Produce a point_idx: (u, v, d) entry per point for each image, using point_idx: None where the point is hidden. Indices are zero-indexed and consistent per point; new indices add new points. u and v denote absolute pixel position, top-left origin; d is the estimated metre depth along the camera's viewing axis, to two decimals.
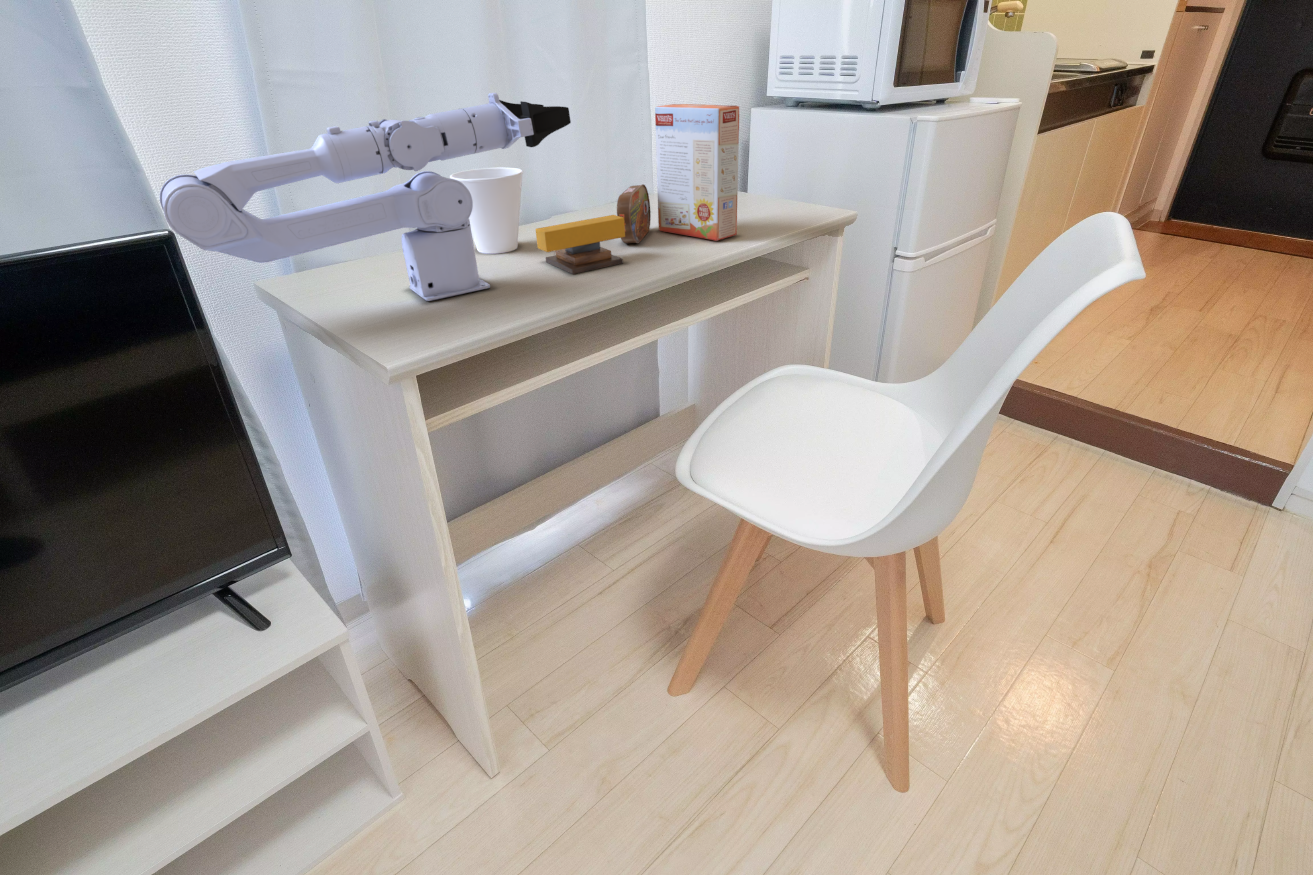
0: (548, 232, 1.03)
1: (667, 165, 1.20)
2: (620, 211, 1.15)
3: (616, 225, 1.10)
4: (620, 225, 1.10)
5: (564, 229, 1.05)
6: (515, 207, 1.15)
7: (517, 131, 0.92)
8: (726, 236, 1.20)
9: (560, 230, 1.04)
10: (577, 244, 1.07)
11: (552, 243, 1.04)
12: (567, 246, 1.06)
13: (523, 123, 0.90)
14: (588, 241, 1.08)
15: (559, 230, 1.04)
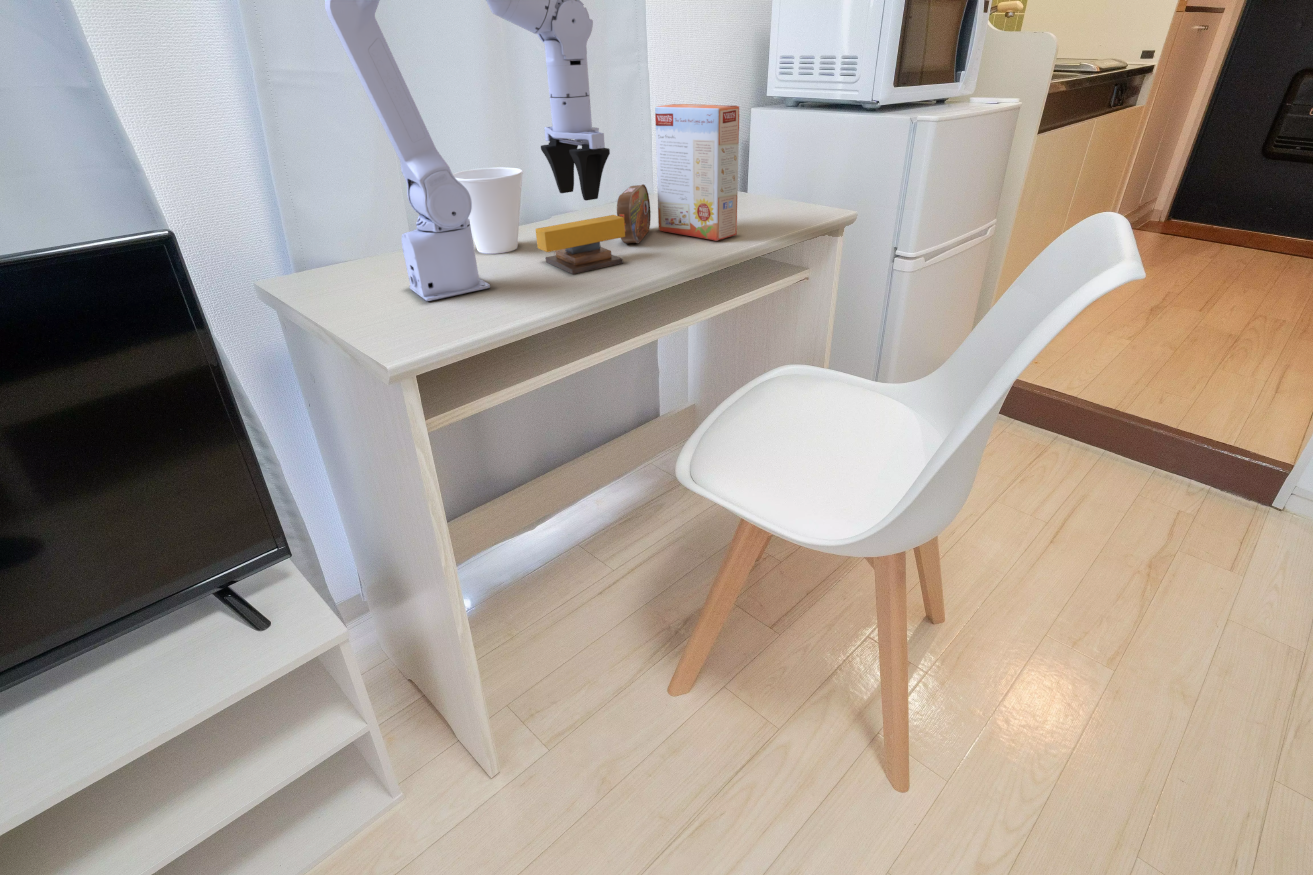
0: (548, 232, 1.03)
1: (667, 165, 1.20)
2: (620, 211, 1.15)
3: (616, 225, 1.10)
4: (620, 225, 1.10)
5: (564, 229, 1.05)
6: (515, 207, 1.15)
7: None
8: (726, 236, 1.20)
9: (560, 230, 1.04)
10: (577, 244, 1.07)
11: (552, 243, 1.04)
12: (567, 246, 1.06)
13: (601, 139, 0.96)
14: (588, 241, 1.08)
15: (559, 230, 1.04)
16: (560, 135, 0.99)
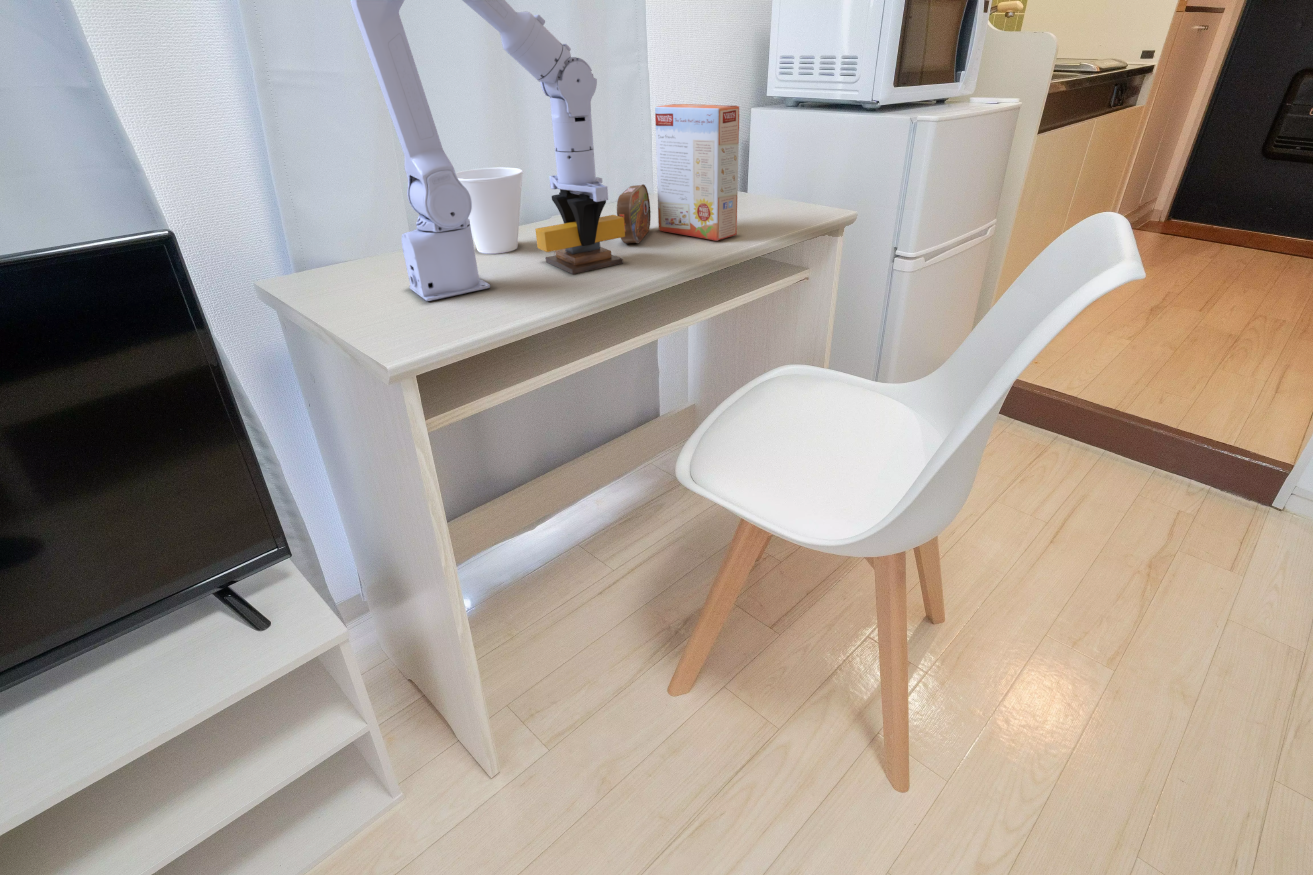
0: (548, 232, 1.03)
1: (667, 165, 1.20)
2: (620, 211, 1.15)
3: (616, 225, 1.10)
4: (620, 225, 1.10)
5: (564, 229, 1.05)
6: (515, 207, 1.15)
7: None
8: (726, 236, 1.20)
9: (560, 230, 1.04)
10: (577, 244, 1.07)
11: (551, 243, 1.04)
12: (567, 246, 1.06)
13: (605, 192, 1.00)
14: None
15: (559, 230, 1.04)
16: (565, 187, 1.02)
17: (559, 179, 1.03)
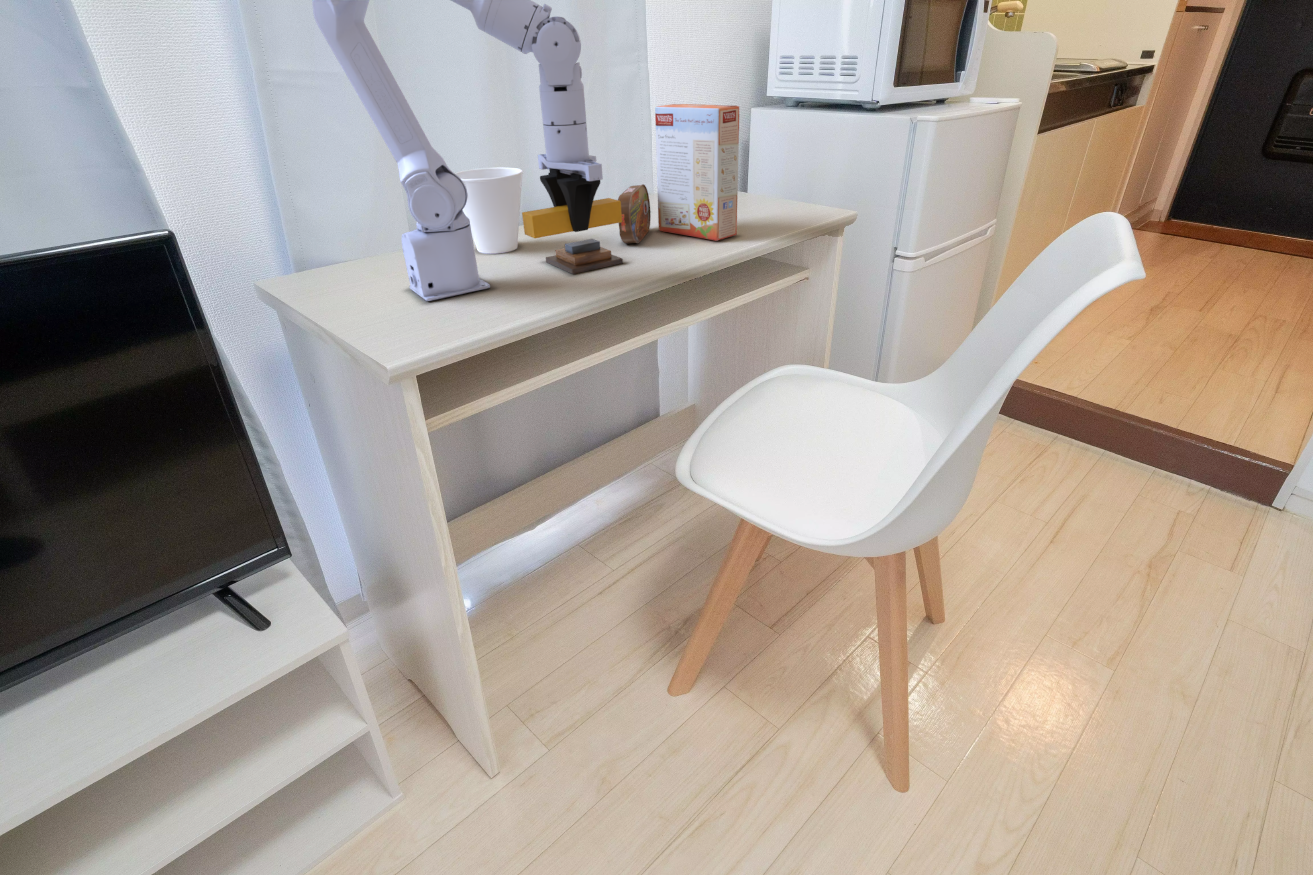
0: (536, 216, 0.93)
1: (667, 165, 1.20)
2: None
3: (612, 209, 0.99)
4: (616, 209, 0.99)
5: (554, 213, 0.94)
6: (515, 207, 1.15)
7: None
8: (726, 236, 1.20)
9: (549, 214, 0.94)
10: (568, 230, 0.96)
11: (540, 228, 0.94)
12: (557, 232, 0.95)
13: (599, 170, 0.89)
14: None
15: (548, 214, 0.94)
16: (554, 165, 0.92)
17: (548, 157, 0.92)
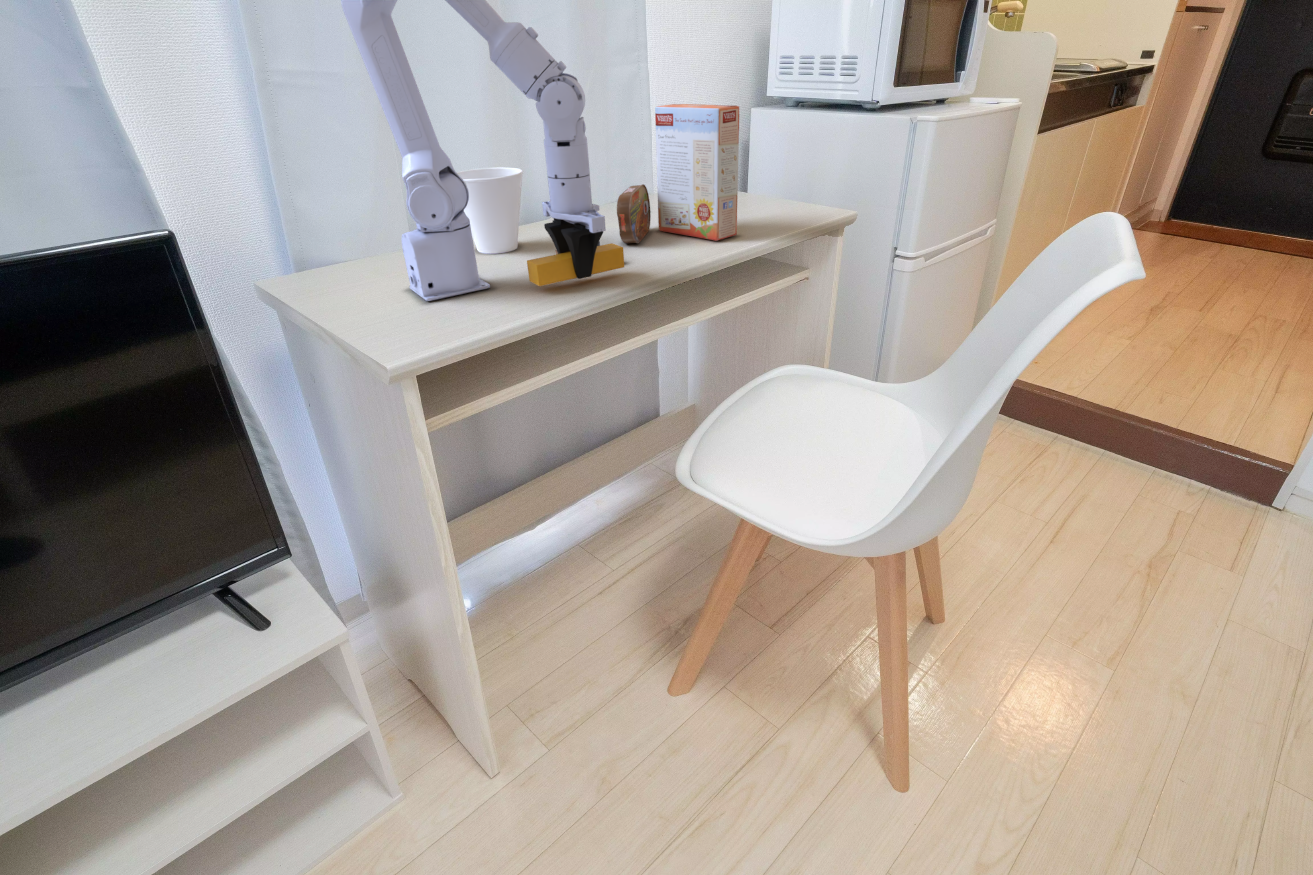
0: (540, 265, 0.95)
1: (667, 165, 1.20)
2: (620, 211, 1.15)
3: (615, 255, 1.01)
4: (619, 255, 1.02)
5: (558, 261, 0.96)
6: (515, 207, 1.15)
7: None
8: (726, 236, 1.20)
9: (554, 262, 0.96)
10: (572, 276, 0.99)
11: (544, 276, 0.96)
12: (561, 279, 0.98)
13: (602, 222, 0.91)
14: None
15: (552, 262, 0.96)
16: (558, 216, 0.94)
17: (552, 207, 0.94)
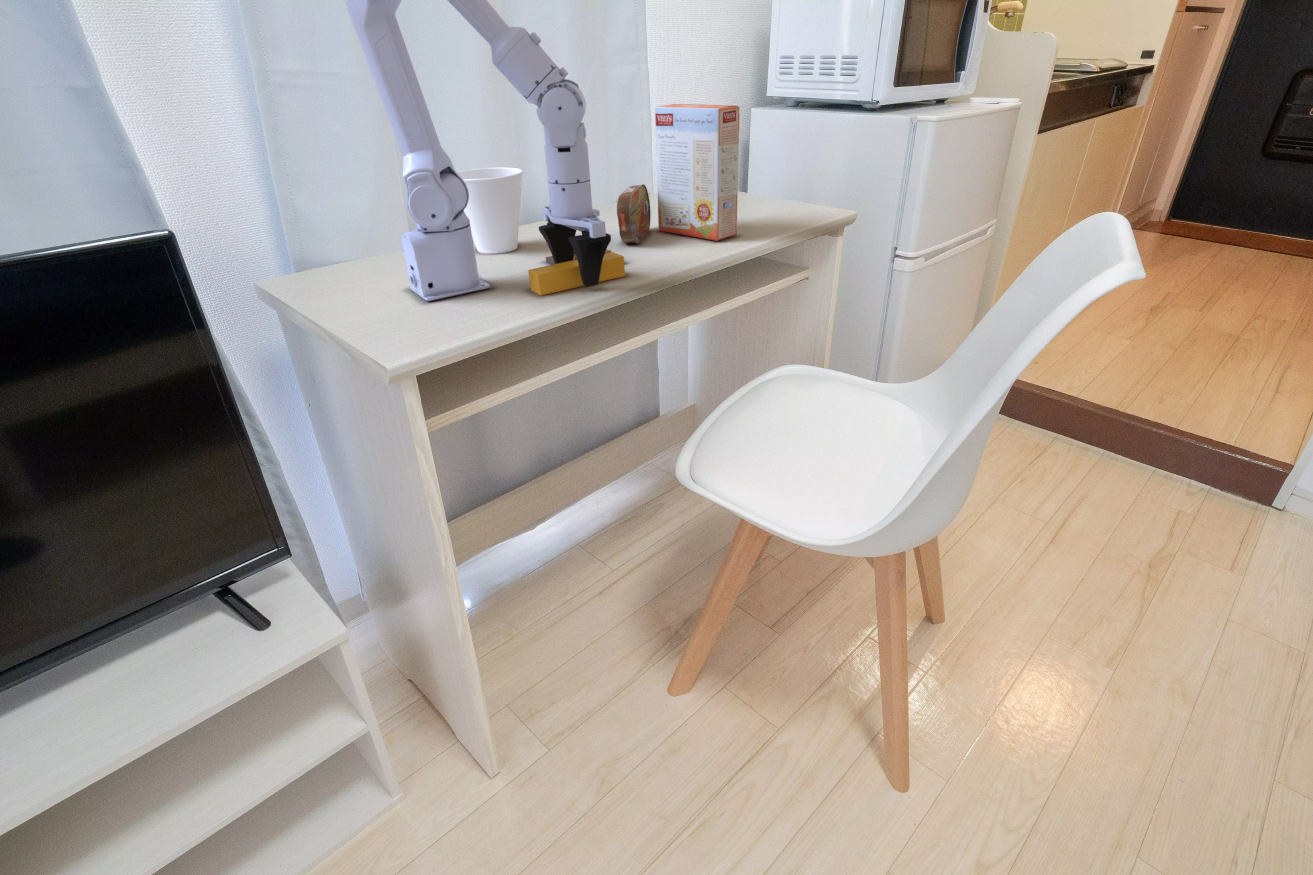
0: (542, 274, 0.96)
1: (667, 165, 1.20)
2: (620, 211, 1.15)
3: (615, 264, 1.02)
4: (619, 264, 1.02)
5: (559, 270, 0.97)
6: (515, 207, 1.15)
7: None
8: (726, 236, 1.20)
9: (555, 272, 0.97)
10: (573, 286, 0.99)
11: (546, 285, 0.97)
12: (562, 288, 0.98)
13: (602, 227, 0.92)
14: None
15: (554, 272, 0.97)
16: (559, 221, 0.94)
17: (553, 212, 0.95)
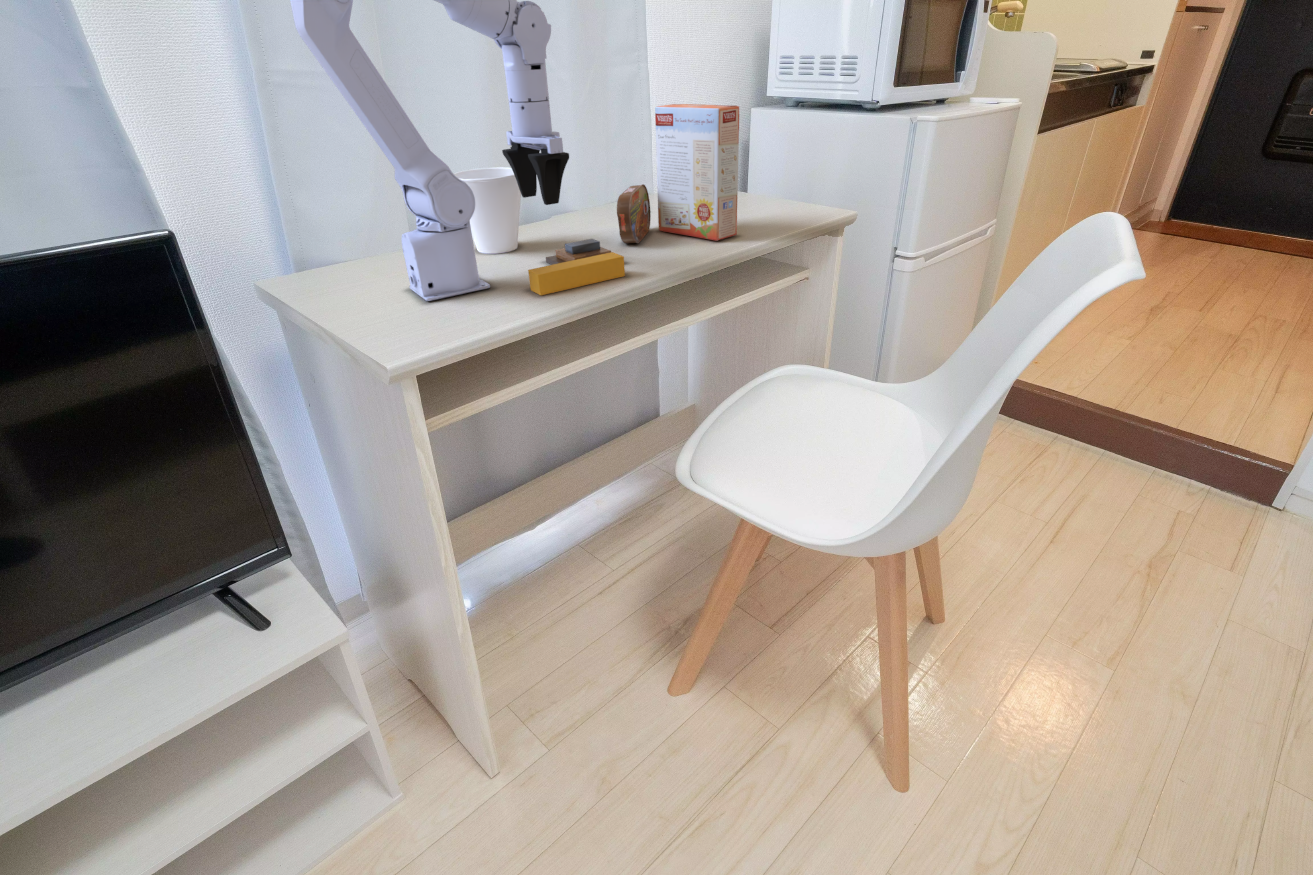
0: (542, 274, 0.96)
1: (667, 165, 1.20)
2: (620, 211, 1.15)
3: (615, 264, 1.02)
4: (619, 264, 1.02)
5: (559, 270, 0.97)
6: (515, 207, 1.15)
7: None
8: (726, 236, 1.20)
9: (555, 272, 0.97)
10: (573, 286, 0.99)
11: (546, 285, 0.97)
12: (562, 288, 0.98)
13: (560, 143, 0.96)
14: (585, 282, 1.00)
15: (554, 272, 0.97)
16: (519, 140, 0.99)
17: (513, 132, 0.99)
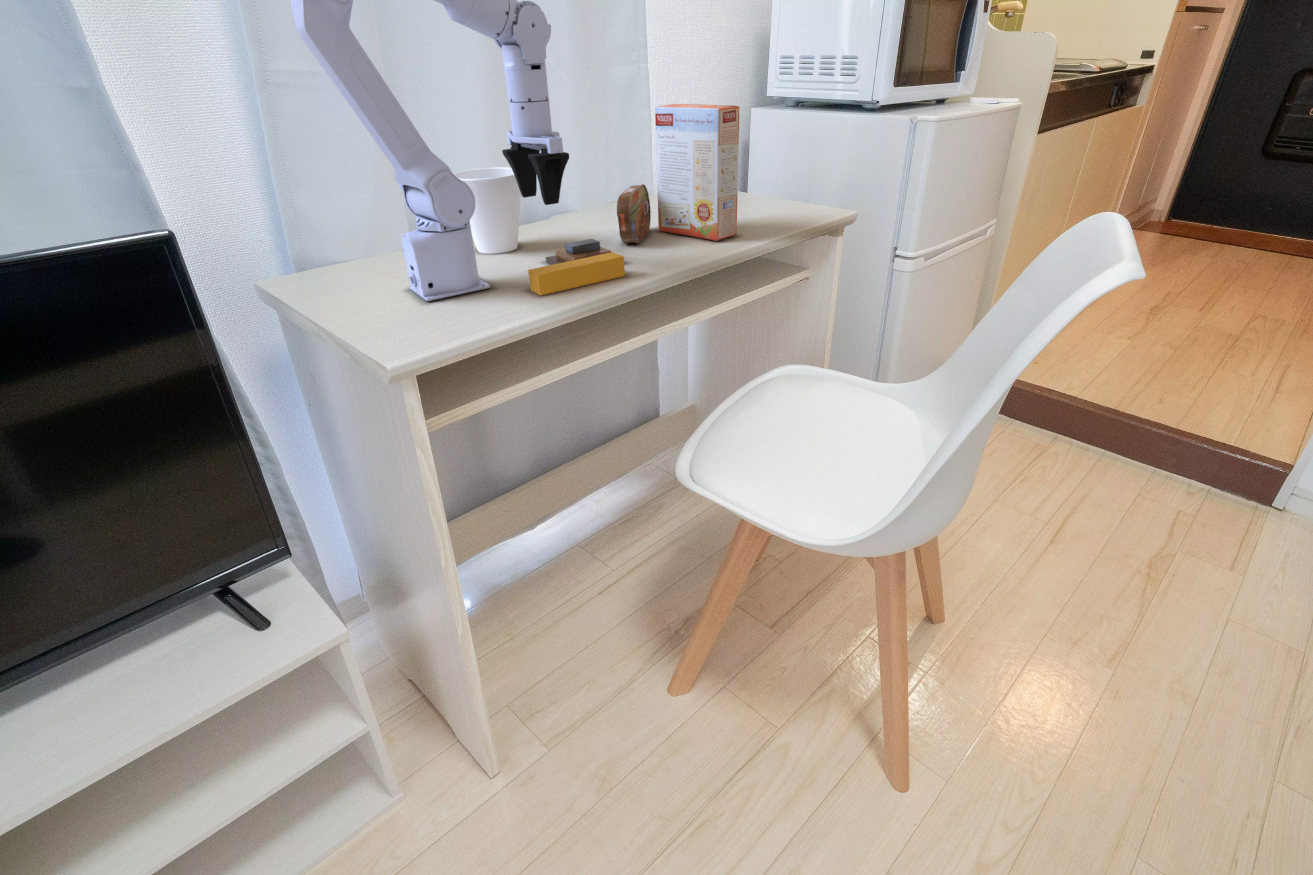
0: (542, 274, 0.96)
1: (667, 165, 1.20)
2: (620, 211, 1.15)
3: (615, 264, 1.02)
4: (619, 264, 1.02)
5: (559, 270, 0.97)
6: (515, 207, 1.15)
7: None
8: (726, 236, 1.20)
9: (555, 272, 0.97)
10: (573, 286, 0.99)
11: (546, 285, 0.97)
12: (562, 288, 0.98)
13: (560, 143, 0.96)
14: (585, 282, 1.00)
15: (554, 272, 0.97)
16: (519, 139, 0.99)
17: (513, 132, 0.99)
